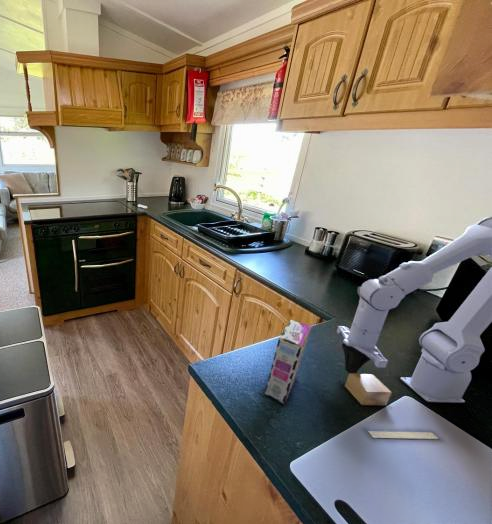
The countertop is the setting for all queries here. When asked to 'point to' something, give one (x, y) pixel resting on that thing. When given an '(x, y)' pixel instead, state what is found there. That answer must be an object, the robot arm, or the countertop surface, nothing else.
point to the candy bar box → (287, 360)
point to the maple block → (367, 389)
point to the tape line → (403, 435)
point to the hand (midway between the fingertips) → (350, 371)
